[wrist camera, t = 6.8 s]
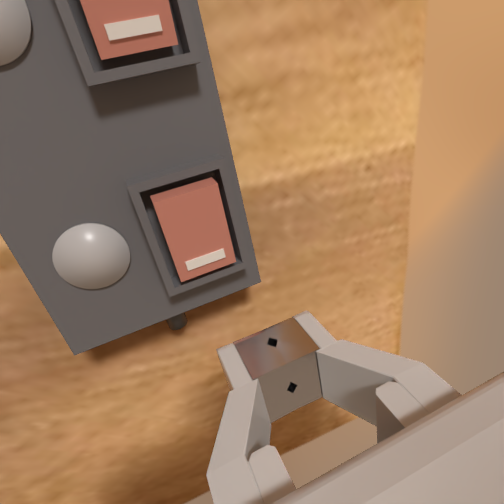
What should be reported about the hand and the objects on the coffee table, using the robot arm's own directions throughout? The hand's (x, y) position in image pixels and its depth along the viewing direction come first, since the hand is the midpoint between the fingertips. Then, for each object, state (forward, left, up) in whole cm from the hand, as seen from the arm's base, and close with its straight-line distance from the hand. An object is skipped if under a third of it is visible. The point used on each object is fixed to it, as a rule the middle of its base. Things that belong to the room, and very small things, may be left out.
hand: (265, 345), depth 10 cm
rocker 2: (-1, 0, -8) cm, 8 cm away
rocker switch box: (-6, -3, -12) cm, 14 cm away
